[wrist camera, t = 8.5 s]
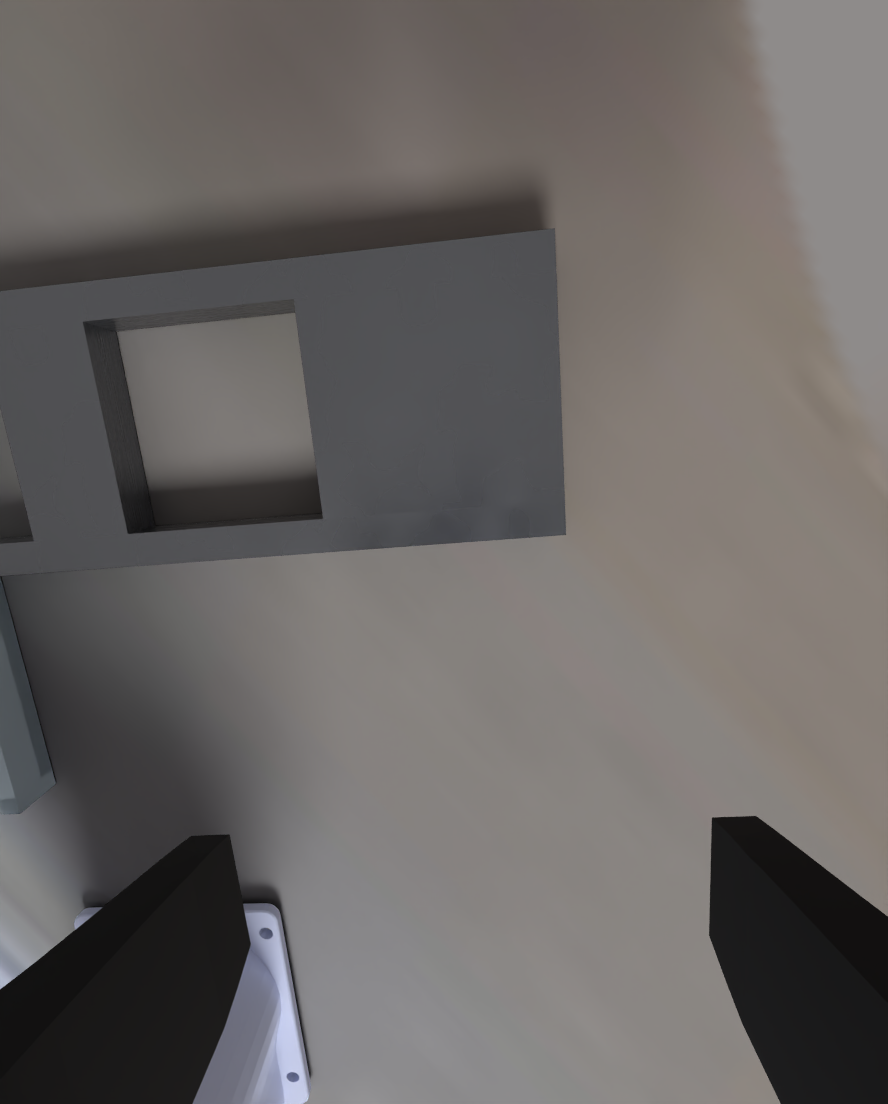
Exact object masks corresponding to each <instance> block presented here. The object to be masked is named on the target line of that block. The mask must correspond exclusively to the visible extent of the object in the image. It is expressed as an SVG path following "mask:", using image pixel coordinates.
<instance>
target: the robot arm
mask: <svg viewBox="0 0 888 1104" xmlns="http://www.w3.org/2000/svg"><path fill="white" fill-rule="evenodd" d="M74 926H75V931H73V932H72V933H71V934H70V935H68V936H67V937H66V938H65V939H64V940H62V941H61V942H60V943H59V944H57V945H56V946H55V947H54V948H52V949H51V950H50V951H49V952H48V953H46V954H45V955H44V956H43V957H41V958H40V959H39V960H38V961H36V962H35V963H34V964H33V965H31V966H30V967H29V968H27V969H26V970H25V971H24V972H22V973H21V974H20V975H18V976H17V977H16V978H15V979H13V980H12V981H11V982H9V983H8V984H7V985H6V986H4V987H3V988H2V989H0V1104H303V1103H304V1102H306V1101H307V1100H308V1098H309V1094H310V1090H311V1083H310V1077H309V1072H308V1066H307V1060H306V1055H305V1049H304V1044H303V1038H302V1032H301V1027H300V1021H299V1016H298V1010H297V1004H296V999H295V993H294V988H293V982H292V977H291V971H290V965H289V960H288V954H287V949H286V943H285V937H284V932H283V926H282V921H281V915H280V912H279V910H278V909H277V908H276V907H275V906H274V905H272V904H269V903H252V904H243V901H242V896H241V891H240V886H239V881H238V876H237V871H236V866H235V861H234V855H233V850H232V845H231V840H230V835H204V836H191V837H189V838H188V839H187V840H185V841H184V842H183V843H181V844H180V845H179V846H177V847H176V848H175V849H174V850H172V851H171V852H170V853H168V854H167V855H166V856H165V857H164V858H162V859H161V860H160V861H159V862H157V863H156V864H155V865H154V866H152V867H151V868H150V869H149V870H148V871H146V872H145V873H144V874H143V875H141V876H140V877H139V878H138V879H137V880H135V881H134V882H133V883H132V884H131V885H129V886H128V887H127V888H126V889H124V890H123V891H122V892H121V893H120V894H118V895H117V896H116V897H115V898H114V899H112V900H111V901H110V902H109V903H108V904H106V905H105V906H104V907H96V908H85V909H84V910H82V911H81V912H80V914H79V915H78V916H77V917H76V919H75V921H74ZM267 928H269V929H267ZM709 936H710V939H711V941H712V944H713V947H714V950H715V952H716V955H717V958H718V961H719V963H720V966H721V969H722V972H723V974H724V977H725V980H726V982H727V985H728V988H729V990H730V993H731V995H732V998H733V1001H734V1003H735V1006H736V1008H737V1011H738V1013H739V1016H740V1019H741V1021H742V1024H743V1026H744V1028H745V1030H746V1032H747V1034H748V1036H749V1038H750V1040H751V1043H752V1045H753V1047H754V1049H755V1051H756V1053H757V1055H758V1057H759V1059H760V1061H761V1063H762V1066H763V1068H764V1070H765V1072H766V1074H767V1076H768V1078H769V1080H770V1082H771V1084H772V1086H773V1088H774V1090H775V1093H776V1095H777V1097H778V1099H779V1101H780V1103H781V1104H888V916H886V915H885V914H884V913H882V912H881V911H880V910H878V909H877V908H876V907H874V906H873V905H872V904H870V903H869V902H868V901H866V900H865V899H864V898H862V897H861V896H860V895H859V894H857V893H856V892H855V891H853V890H852V889H851V888H849V887H848V886H847V885H846V884H844V883H843V882H842V881H840V880H839V879H838V878H836V877H835V876H834V875H833V874H831V873H830V872H829V871H827V870H826V869H825V868H823V867H822V866H821V865H820V864H818V863H817V862H816V861H814V860H813V859H812V858H811V857H809V856H808V855H807V854H805V853H804V852H803V851H801V850H800V849H799V848H798V847H796V846H795V845H794V844H792V843H791V842H790V841H789V840H787V839H786V838H785V837H783V836H782V835H781V834H779V833H778V832H777V831H775V830H774V829H773V828H771V827H770V826H769V825H767V824H766V823H765V822H763V821H762V820H761V819H759V818H758V817H756V816H745V817H717V818H712V840H711V882H710V924H709Z"/></svg>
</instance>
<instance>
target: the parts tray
mask: <svg viewBox="0 0 888 1104" xmlns="http://www.w3.org/2000/svg"><path fill="white" fill-rule="evenodd" d="M55 784H56V782H55V778H54V775H53V771H52V767H51V763H50V760H49V756H48V752H47V748H46V745H45V741H44V737H43V734H42V730H41V726H40V722H39V719H38V715H37V711H36V707H35V704H34V700H33V696H32V693H31V689H30V685H29V681H28V678H27V674H26V670H25V666H24V663H23V659H22V655H21V652H20V648H19V644H18V640H17V637H16V633H15V629H14V625H13V622H12V618H11V614H10V611H9V607H8V603H7V599H6V596H5V592H4V588H3V584H2V581H1V577H0V814H20V813H21V812H23V811H24V810H25V809H26V808H27V807H29V806H30V805H31V804H32V803H33V802H35V801H36V800H37V799H38V798H39V797H41V796H42V795H43V794H44V793H45V792H47V791H48V790H49V789H50V788H51V787H53V786H54V785H55Z"/></svg>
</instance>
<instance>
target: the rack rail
mask: <svg viewBox="0 0 888 1104" xmlns="http://www.w3.org/2000/svg"><path fill="white" fill-rule="evenodd" d="M294 312H295V313H296V320H297V328H298V335H299V343H300V350H301V358H302V365H303V372H304V380H305V387H306V395H307V402H308V410H309V417H310V425H311V432H312V440H313V447H314V455H315V462H316V470H317V477H318V485H319V492H320V500H321V507H322V513H319V514H306V515H293V516H280V517H268V518H255V519H242V520H229V521H216V522H204V523H191V524H178V525H165V526H155V524H154V519H153V514H152V509H151V504H150V499H149V494H148V489H147V484H146V479H145V474H144V469H143V464H142V459H141V454H140V449H139V444H138V439H137V434H136V429H135V424H134V419H133V414H132V409H131V404H130V400H129V395H128V390H127V385H126V380H125V375H124V370H123V365H122V360H121V355H120V350H119V345H118V340H117V335H116V331H124V330H133V329H143V328H152V327H161V326H171V325H180V324H190V323H199V322H209V321H218V320H228V319H237V318H247V317H256V316H266V315H275V314H285V313H294ZM0 408H1V412H2V416H3V420H4V424H5V428H6V432H7V436H8V440H9V444H10V448H11V452H12V456H13V460H14V464H15V468H16V472H17V476H18V480H19V484H20V488H21V492H22V496H23V500H24V503H25V507H26V511H27V515H28V519H29V523H30V527H31V531H32V535H33V536H24V537H12V538H0V576H7V575H21V574H35V573H49V572H62V571H76V570H90V569H104V568H117V567H131V566H145V565H159V564H172V563H186V562H200V561H214V560H227V559H241V558H255V557H268V556H282V555H296V554H310V553H323V552H337V551H351V550H365V549H378V548H392V547H406V546H420V545H433V544H447V543H461V542H475V541H488V540H502V539H516V538H530V537H543V536H557V535H566V521H565V494H564V467H563V441H562V414H561V387H560V360H559V334H558V307H557V280H556V253H555V228H554V229H545V230H536V231H527V232H518V233H509V234H501V235H492V236H483V237H474V238H465V239H456V240H447V241H439V242H430V243H421V244H412V245H403V246H394V247H386V248H377V249H368V250H359V251H350V252H341V253H332V254H324V255H315V256H306V257H297V258H288V259H279V260H271V261H262V262H253V263H244V264H235V265H226V266H217V267H209V268H200V269H191V270H182V271H173V272H164V273H156V274H147V275H138V276H129V277H120V278H111V279H102V280H94V281H85V282H76V283H67V284H58V285H49V286H41V287H32V288H23V289H14V290H5V291H0Z"/></svg>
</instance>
